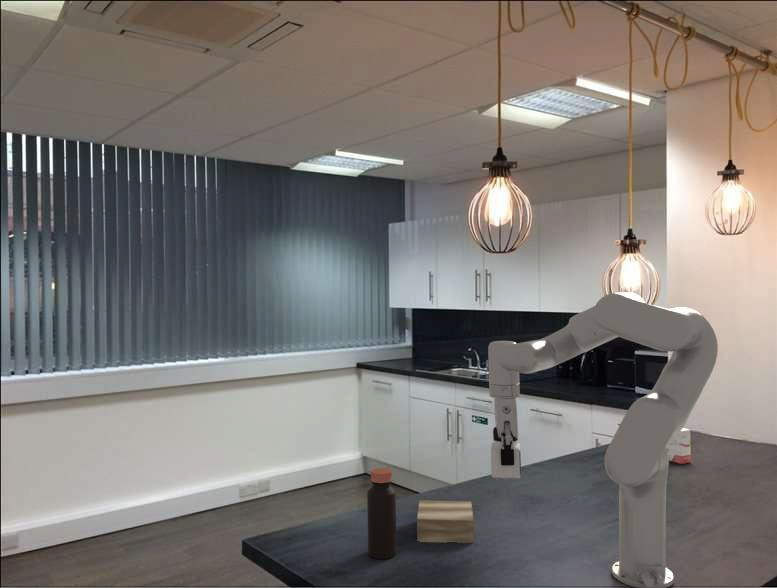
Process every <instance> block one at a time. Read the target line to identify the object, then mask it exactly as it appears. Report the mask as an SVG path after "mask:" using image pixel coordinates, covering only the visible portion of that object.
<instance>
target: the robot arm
mask: <svg viewBox="0 0 777 588" xmlns="http://www.w3.org/2000/svg"><path fill="white" fill-rule="evenodd" d="M616 338H622V339H624V340H627V341H630V342H634V343H636V344H639V345H642V346H646V347H648V348H651V349H653V350H657V351H661V352H670V353H672V354H671V356H670V357H669V359H668V361H667V362H666V363H665V365H664V367H663V368H662V371H661V373H660V375H659V378H658V379H657V380H656V383H655V384H654V386H653V387H652V389H651V390H650V392H649V393H648V394H646V395H644V396H642V397H640V398H638V399H637V400H636V401H635V400H634V402H633V403H632V404H631V406H630V407H629V408H628V410H627V411H626V412H625V415H624V417H623V418H622V420H621V422H620V424H619V426H618V428H617V430H616V432H615V433H614V436H613V438H612V439H611V441H610V443H609V445H608V447H607V449H606V452H605V455H604V466H605V467H604V468H605V471H606V473H607V475H608V476H609V478H610V479H611V480H612V481H613V482H614V483H616V484H617V485H619V492H618V498H619V499H618V545H619V547H618V548H619V549H618V559H619V560H618V561H617V562H615V563H614V564H612V566H611V574H612V576H613V577H614V578H615V579H617V581H619V582H620V583H622V584H624V585H627V586H630V587H633V588H669V587H671V586H672V585H673V584H674V581H675V580H674V579H675V578H674V577H675V576H674V574H673V572H672V571H671V570H670V569H668V567H667V551H666V550H667V542H666V541H667V537H666V536H667V535H666V532H667V527H666V526H667V525H666V524H667V514H666V513H667V484H668V483H667V481H668V473H669V463H670V461H669V456H668V451H667V448H666V445H667V443H668V442H669V440H670V438H671V437H673V436H674V435H676V434H677V433H678V432H680V431H681V430H682V428H685V425H686V423H687V421H688V419H689V417H690V415H691V413H692V411H693V409H694V408H695V405H696V404H697V402H698V400H699V398H700V396H701V395H702V392H703V390H704V388H705V386H706V384H707V382H708V380H709V378H710V377H711V375H712V372H713V371H714V368H715V364H716V363H717V359H718V358H717V357H718V351H719V350H718V349H719V347H718V346H719V345H718V339H717V335H716V333H715V331H714V328H713V327H712V324H710V322H709V321H708V320H707V318H705V316H704V315H702V314H701V313H700V312H698V311H696V310H695V309H692V308H688V307H674V308H669V309H668V308H666V307H665V308H664V307H662V306H658V305H655V304H650V303H647V302H645V300H644V299H643V298H642V297H641V296H640V295H638V294H636V293H634V292H629V291H623V292H611V293H608V294H606V295H604V296H602V297H601V298H599V300H598V301H597V302H596V304H595V305H594V306H592V307H590V308H588V309H586V310H582V311H581V312H579V313H577V314H574V315H573V316H572V317H570V318H569V320H568V324H566V326H564V327H563V328H561V329H559V330H557V331H555V332H554V333H551V334H549V335H546V336H545V337H543V338H540V339H534V340H529V341H523V342H519V343H517V342H515V341H513V340H494V341H492V342H490V343H489V344H488V347H487V348H488V350H487V351H488V352H487V353H488V354H487V355H488V359H487V360H488V385H489V397H490V398H493V403H494V404H493V405H494V422H495V427H496V428H497V433H498V437H499V438H501V446H502V449H501V465H502V466H513V465H514V449H513V437H512V434H513V436H514V437H515V438H517V437H518V438H519V428H518V426H519V425H518V408H517V407H518V406H517V398H519V397H521V396H520V395H521V391H520V387H521V386H520V374H533V373H537V372H539V371H544V370H548V369H551V368H553V367H555V366H557V365H558V366H559V364H562V363H565V362H566V361H569V360H571V359H573V358H575V357H577V356H578V355H581V354H583V353H587V352H589V351H591V350H593V349H594V348H597V347H599V346H601V345H603V344H606V343H608V342H610V341H612V340H614V339H616ZM502 432H503V433H502ZM503 434H505V436H503Z"/></svg>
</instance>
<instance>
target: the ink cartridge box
mask: <svg viewBox="0 0 777 588" xmlns="http://www.w3.org/2000/svg"><path fill="white" fill-rule="evenodd" d="M691 446H692V445H691V429H688V428H685V427H683V428H682V430H681V431H680V432H678V433H677V434H676V435H674V436H673V437H671V438H670V440H669V442H668V443H667V445H666V448H667V451H668V456H669V462H673V463H677V464H679V465H683V464H690V463H691V460H692V459H691V458H692V457H691V453H692V452H691V450H692V449H691Z"/></svg>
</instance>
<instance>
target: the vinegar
mask: <svg viewBox="0 0 777 588" xmlns="http://www.w3.org/2000/svg"><path fill="white" fill-rule="evenodd" d="M370 481H371V484H372V486H371V487H370V488H369V489H368V490H367V493H366V495H367V496H366V497H367V498H366V499H367V500H366V501H367V554H368V556H370V557H371V558H372V559H375V560H388V559H391V558H394V556H396V554H397V513H396V512H397V498H396V497H397V496H396V495H397V494H396V493H397V492H396V489H394V488H393V487H392V485H391V484H392V470H391V469H390V468H381V467H379V468H374V469H371V471H370Z"/></svg>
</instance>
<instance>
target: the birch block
mask: <svg viewBox="0 0 777 588" xmlns="http://www.w3.org/2000/svg"><path fill="white" fill-rule="evenodd" d="M472 505H473V504H472V501H469V500H468V501H467V500H463V501H462V500H427V499H426V500H425V499H424V500H422V499H421V500H419V502H418V508H417V515H416V516H417V517H416V533H417V534H416V535H417V536H416V537H417V538H416V542H417V541H419V542H418V543H447V542H458V543H457V544H459V543H460V544H475V542H474V537H475V536H474V531H475V530H474V513H473V506H472ZM461 542H462V543H461Z"/></svg>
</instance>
